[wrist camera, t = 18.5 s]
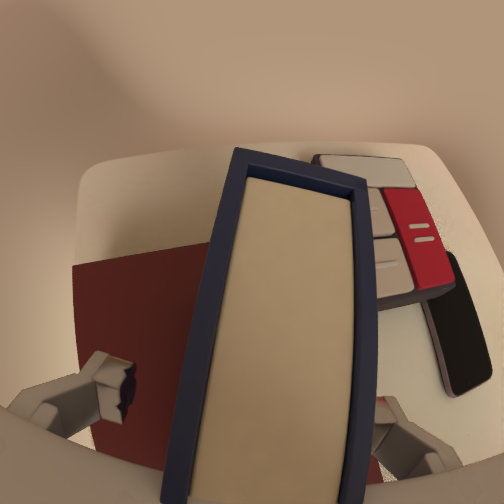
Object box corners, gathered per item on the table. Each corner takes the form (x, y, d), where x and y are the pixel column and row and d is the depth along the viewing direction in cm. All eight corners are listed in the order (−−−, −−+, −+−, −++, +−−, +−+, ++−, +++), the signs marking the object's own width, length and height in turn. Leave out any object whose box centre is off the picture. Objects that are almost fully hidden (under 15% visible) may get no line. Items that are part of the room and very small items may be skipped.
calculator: (365, 305, 21) (314, 147, 27) (342, 320, 25) (303, 176, 31) (462, 283, 23) (406, 153, 29) (435, 299, 27) (389, 177, 33)
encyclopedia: (361, 502, 17) (392, 514, 13) (158, 558, 12) (150, 585, 8) (282, 257, 26) (296, 227, 22) (91, 291, 22) (71, 265, 18)
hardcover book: (277, 311, 19) (366, 178, 9) (248, 517, 12) (322, 637, 2) (213, 299, 19) (234, 145, 8) (176, 508, 12) (147, 633, 2)
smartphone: (452, 250, 29) (494, 376, 22) (447, 255, 30) (487, 378, 23) (408, 253, 28) (452, 400, 20) (402, 259, 29) (444, 402, 21)
